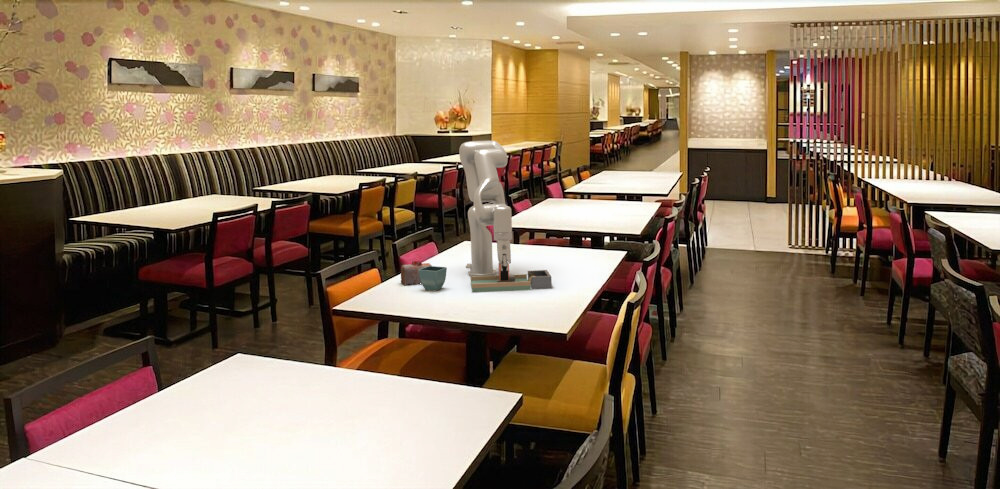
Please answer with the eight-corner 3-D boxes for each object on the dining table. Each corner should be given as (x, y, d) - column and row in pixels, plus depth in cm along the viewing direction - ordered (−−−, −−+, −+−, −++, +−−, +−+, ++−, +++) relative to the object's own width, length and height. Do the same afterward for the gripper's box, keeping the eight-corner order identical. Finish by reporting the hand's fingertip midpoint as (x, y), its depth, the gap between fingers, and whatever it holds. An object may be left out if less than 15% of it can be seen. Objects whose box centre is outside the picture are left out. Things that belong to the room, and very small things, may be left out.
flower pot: (448, 287, 318) (447, 266, 317) (437, 292, 310) (436, 271, 309) (429, 286, 322) (429, 265, 320) (419, 290, 314) (418, 269, 312)
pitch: (472, 292, 309) (472, 284, 308) (470, 284, 324) (470, 276, 323) (530, 289, 311) (530, 281, 310) (526, 281, 325) (526, 274, 325)
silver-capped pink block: (497, 283, 314) (496, 264, 313) (496, 281, 319) (496, 262, 317) (515, 283, 315) (514, 264, 314) (514, 280, 319) (513, 262, 318)
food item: (429, 279, 335) (428, 257, 334) (435, 283, 328) (434, 260, 327) (399, 283, 330) (398, 261, 328) (405, 286, 323) (404, 264, 321)
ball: (527, 286, 318) (526, 276, 317) (532, 283, 321) (531, 274, 320) (535, 286, 315) (534, 277, 315) (540, 283, 318) (539, 274, 318)
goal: (531, 289, 311) (531, 277, 311) (528, 282, 325) (527, 270, 324) (551, 288, 312) (551, 276, 311) (546, 281, 325) (546, 269, 324)
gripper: (513, 238, 306) (514, 283, 309) (510, 232, 322) (511, 274, 325) (495, 239, 305) (496, 283, 308) (492, 233, 321) (493, 275, 325)
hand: (504, 278), depth 317 cm, fingers closed on silver-capped pink block, 4 cm apart
